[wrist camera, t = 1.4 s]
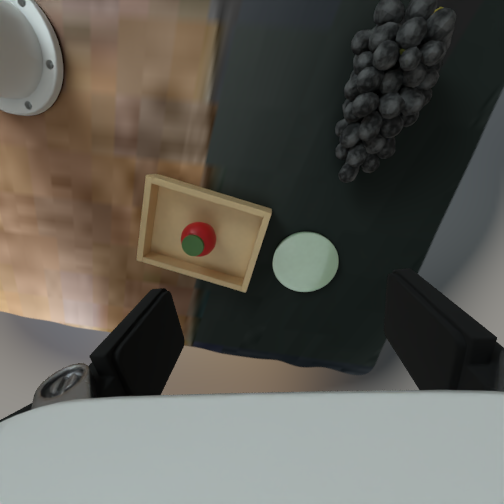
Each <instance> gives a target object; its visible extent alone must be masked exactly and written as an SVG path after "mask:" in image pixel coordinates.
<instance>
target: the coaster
mask: <svg viewBox="0 0 504 504" xmlns="http://www.w3.org/2000/svg"><path fill="white" fill-rule="evenodd" d="M338 262H339V260H338V253H337V251H336V249H335V247H334V245H333V244H332V243H331V242H330V241H329V240H328V239H327V238H326V237H324V236H323V235H321V234H318V233H315V232H298V233H295V234H292V235H290V236H288V237H287V238H285V239H284V240H283V241H282V242H281V243H280V244H279V245H278V246H277V248H276V250H275V252H274V255H273V271H274V274H275V276H276V277H277V279H278V280H279V281H280V283H282V284H283V285H284V286H285V287H287V288H289V289H291V290H294V291H298V292H310V291H314V290H317V289H320V288H322V287H323V286H325V285H326V284H328V283H329V282H330V281H331V280H332V278H333V277H334V275H335V274H336V271H337V268H338Z"/></svg>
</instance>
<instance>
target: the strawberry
mask: <svg viewBox="0 0 504 504" xmlns="http://www.w3.org/2000/svg"><path fill="white" fill-rule="evenodd" d="M181 244H182V249H183V251H184V252H185V253H186V254H188V255H190V256H196V257H201V256H205V255H207V254H209V253H210V252H211V251H212V250H213V249H214V247H215V245H216V234H215V231H214V229H213V227H212V226H211V225H209V224H207V223H203V222H194V223H191V224H189V225H187V226H186V227H185V228H184V230H183V231H182V234H181Z"/></svg>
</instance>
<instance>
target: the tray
mask: <svg viewBox="0 0 504 504" xmlns="http://www.w3.org/2000/svg"><path fill="white" fill-rule="evenodd" d="M271 214H272V209H270V208H267V207H264V206H261V205H257V204H254V203H251V202H248V201H244V200H241V199H238V198H234V197H231V196H228V195H225V194H221V193H218V192H215V191H212V190H208V189H205V188H202V187H199V186H195V185H192V184H189V183H186V182H182V181H179V180H176V179H173V178H169V177H166V176H163V175H160V174H149V175H146V179H145V188H144V197H143V206H142V215H141V224H140V233H139V242H138V250H137V259H136V260H137V261H141V262H144V263H148V264H151V265H154V266H158V267H161V268H164V269H168V270H171V271H175V272H178V273H181V274H185V275H188V276H191V277H195V278H198V279H201V280H205V281H208V282H212V283H215V284H218V285H222V286H225V287H228V288H232V289H235V290H239V291H242V292H245V293H246V291H247V288H248V285H249V282H250V278H251V275H252V272H253V269H254V266H255V263H256V260H257V257H258V254H259V251H260V248H261V245H262V242H263V239H264V236H265V232H266V229H267V226H268V223H269V220H270V217H271ZM194 222H203V223H207V224H209V225H211V226H212V227H213V229H214V231H215V234H216V245H215V247H214V249H213V250H212V251H211V252H210V253H209V254H207V255H205V256H201V257H196V256H190V255H188V254H186V253H185V252H184V251H183V249H182V244H181V234H182V231H183V230H184V228H185V227H186V226H187V225H189V224H191V223H194Z"/></svg>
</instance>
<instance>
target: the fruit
mask: <svg viewBox="0 0 504 504" xmlns="http://www.w3.org/2000/svg"><path fill="white" fill-rule="evenodd" d="M436 7H437V0H411V1H410V3H409V5H408V7H407V10H406V12H405V9H404V5H403V4H402V3H401V1H400V0H381V1H379V3H378V5H377V6H376V9H375V12H374V22H375V23H376V24H377V25H376V26H375V27H374V28H373V29H372V30H368V29H364V30H361V31H358V32H357V33H356V34H355V36H354V38H353V40H352V42H351V50H352V51H353V53H354V54H356V55H355V57H354V59H353V66H354V70H353V71H352V73H351V76H350V79H349V81H348V82H347V83H346V85H345V88H344V95H345V97H346V98H347V100H346V101H345V102H344V104H343V113H344V119H342V120H341V121H339V122H337V124H336V127H335V133H336V135H337V136H339V137H340V139H339V142H340V143H339V145H338V146H337V147H336V156H337V157H338V158H339V159H341V160H343V159H345V162H346V163H345V164H344V165H343V167H342V168H341V170H340V172H339V174H338V175H339V179H340V180H341V181H342V182H344V183H347V182H351V181H353V180H354V179H355V177H356V175H357V174H358V172H359V166H360V165H361V169H362V170H363V171H364V172H366V173H371V172H374V171H375V170H376V169H377V168H378V167H379V158H378V157H380V158H381V159H386V158H389V157H391V156H392V155H393V154H394V152H395V138H394V137H395V136H396V135H397V134H399V133H400V132H401V130H402V128H403V126H404V127H408V126H410V125H412V124H414V123H415V122H416V120H417V119H418V117H419V111H420V110H421V109H422V107H423V106H425V105H426V104H427V103H429V101H430V99H431V97H432V90H431V89H430V88H432V87H433V86H434V85H436V83H437V80H438V78H439V74H438V71H439V70H440V68H441V66H442V65H443V58H444V56H445V53H446V51H447V49H448V47H449V46H450V42H451V36H452V34H453V32H454V27H455V25H454V23H455V19H456V14H455V12H454V11H453V10H452V9H450V8H443V7H440V8H438V9H436ZM435 9H436V10H435ZM404 13H405V14H404ZM403 16H405V21H406V22H405V23H404V24H403V25H402V24H400V22H401V21H402V19H403ZM379 92H380V93H379ZM378 93H379V95H377V94H378Z"/></svg>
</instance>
